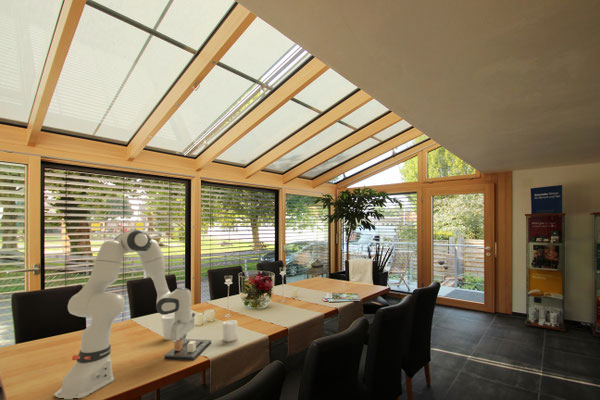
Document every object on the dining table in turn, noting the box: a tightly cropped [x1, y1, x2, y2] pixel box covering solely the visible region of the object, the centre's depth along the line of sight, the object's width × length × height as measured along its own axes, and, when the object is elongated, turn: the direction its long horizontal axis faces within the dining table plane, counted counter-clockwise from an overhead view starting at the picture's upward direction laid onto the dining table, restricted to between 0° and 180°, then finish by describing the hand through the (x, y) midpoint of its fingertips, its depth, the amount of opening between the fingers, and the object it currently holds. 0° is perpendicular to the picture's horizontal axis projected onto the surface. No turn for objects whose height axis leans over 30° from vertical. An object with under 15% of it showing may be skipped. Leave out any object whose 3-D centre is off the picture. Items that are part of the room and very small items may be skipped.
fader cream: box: [187, 341, 196, 353], centre depth 163 cm, size 4×3×5 cm
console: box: [163, 338, 212, 361], centre depth 169 cm, size 22×16×2 cm
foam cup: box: [161, 313, 174, 341], centre depth 190 cm, size 10×9×13 cm
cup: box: [222, 319, 238, 343], centre depth 187 cm, size 8×12×10 cm
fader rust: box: [173, 339, 183, 351], centre depth 165 cm, size 4×3×5 cm
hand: (182, 342), depth 170 cm, fingers closed
